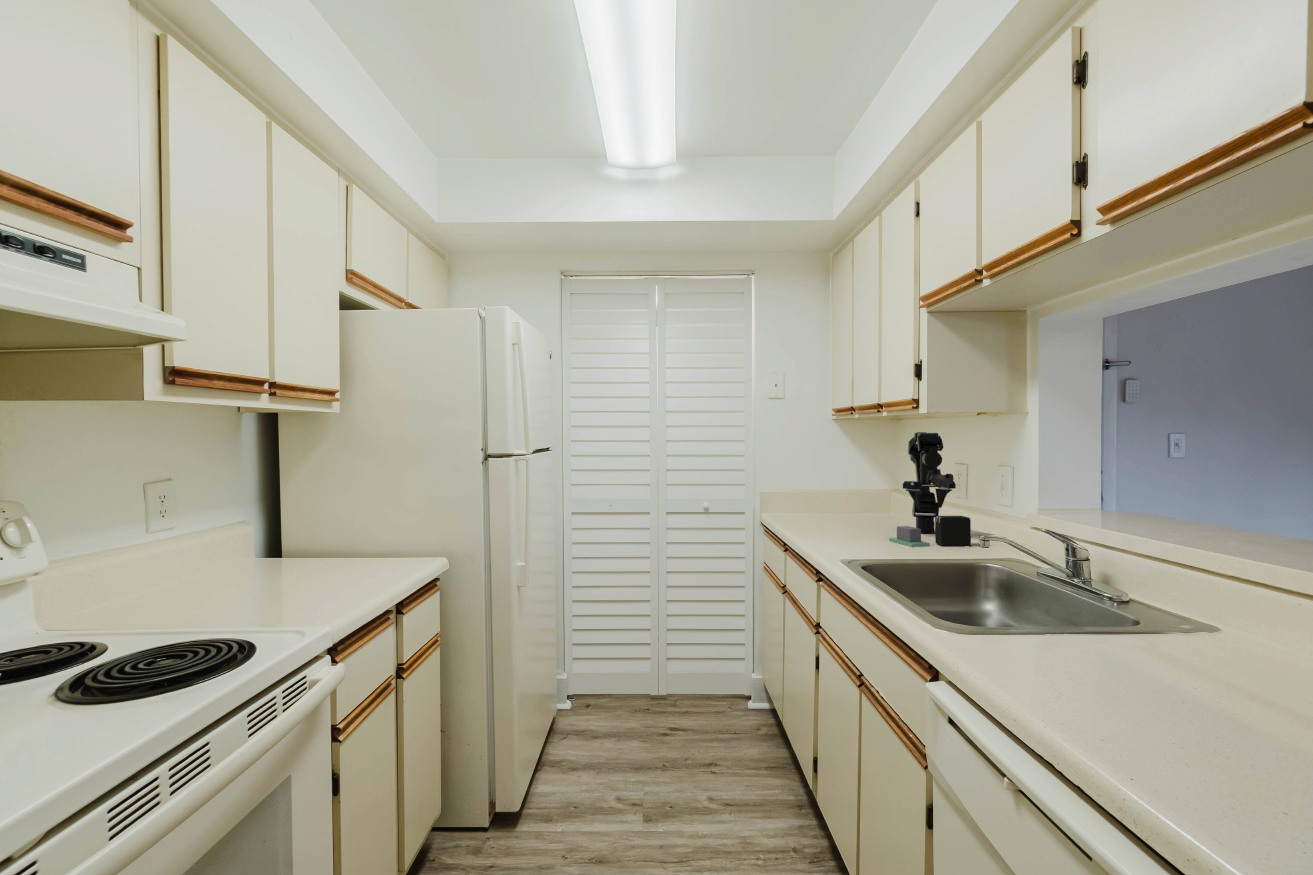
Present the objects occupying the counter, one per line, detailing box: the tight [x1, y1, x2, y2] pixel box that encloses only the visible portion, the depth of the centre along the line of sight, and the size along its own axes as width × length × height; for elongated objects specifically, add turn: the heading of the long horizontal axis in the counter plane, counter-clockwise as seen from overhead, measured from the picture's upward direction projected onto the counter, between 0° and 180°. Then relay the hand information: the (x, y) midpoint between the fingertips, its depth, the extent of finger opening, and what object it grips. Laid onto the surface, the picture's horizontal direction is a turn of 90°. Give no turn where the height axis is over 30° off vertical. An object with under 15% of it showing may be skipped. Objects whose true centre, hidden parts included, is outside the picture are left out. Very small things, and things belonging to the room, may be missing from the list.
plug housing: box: [896, 525, 922, 543], centre depth 190 cm, size 7×4×4 cm, turn 12°
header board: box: [888, 537, 930, 548], centre depth 190 cm, size 12×7×4 cm, turn 12°
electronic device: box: [934, 515, 972, 548], centre depth 185 cm, size 4×10×10 cm, turn 89°
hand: (929, 508), depth 201 cm, fingers open, 9 cm apart
